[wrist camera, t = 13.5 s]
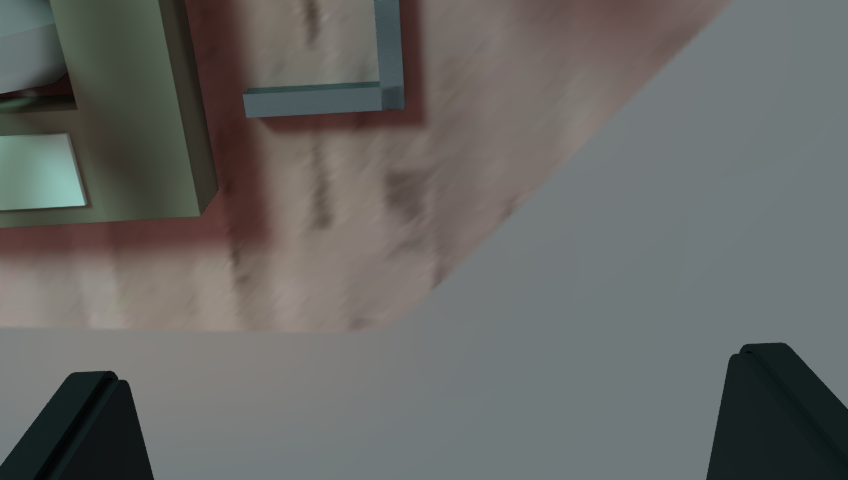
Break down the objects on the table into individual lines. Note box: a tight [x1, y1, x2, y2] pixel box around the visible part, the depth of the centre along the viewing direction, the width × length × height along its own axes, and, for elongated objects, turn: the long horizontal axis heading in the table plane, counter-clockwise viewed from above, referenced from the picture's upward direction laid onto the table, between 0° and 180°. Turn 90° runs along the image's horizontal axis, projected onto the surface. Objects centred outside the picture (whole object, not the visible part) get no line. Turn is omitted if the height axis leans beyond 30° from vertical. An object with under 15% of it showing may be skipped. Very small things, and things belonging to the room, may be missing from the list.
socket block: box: [0, 0, 218, 228], centre depth 32 cm, size 16×18×4 cm
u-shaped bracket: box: [243, 0, 405, 118], centre depth 34 cm, size 8×9×2 cm
